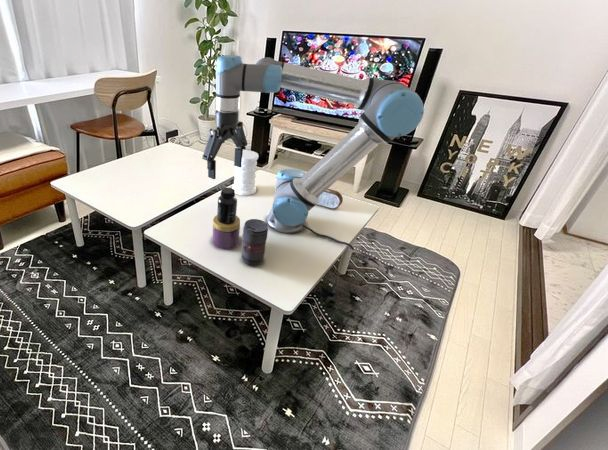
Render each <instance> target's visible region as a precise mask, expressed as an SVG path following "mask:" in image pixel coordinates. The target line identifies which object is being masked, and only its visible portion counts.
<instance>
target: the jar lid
mask: <svg viewBox="0 0 608 450" xmlns="http://www.w3.org/2000/svg"><path fill="white" fill-rule="evenodd" d="M213 226H214V227H215V228H216V229H217V230H219V231H223V232H231V231H235V230H237V229H238V228H239V226H240V227H241V218H240V217H239V216H238V215H236V220H235V222H234V223H232V224H222V223H220V222H219V221H218V220H217V214H216V215H214V217H213V219H212V227H213Z"/></svg>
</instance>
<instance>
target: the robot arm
mask: <svg viewBox="0 0 608 450" xmlns="http://www.w3.org/2000/svg"><path fill="white" fill-rule="evenodd" d="M281 89H285V90H289V91H293V92H298V93H302V94H306V95H311V96H315V97H319V98H323V99H328V100H331V101H337V102H341V103H345V104H350V105H353V107H354V109H356V110H360V111H363V112H362V113H361V114H360V115H359V117H358V124H357V125H355V127H354V128H353V129H351V131H349V132H348V133H347V134H346V135H345V136H344V137H343V138H342V139H340V141H339V142H338V143H337V144H336V145H335V146H333V148H331V149H330V150H329V151H328V152H327V153H326V154H325V155H324V156H323V157H322V158H321V159H319V161H318V162H316V163H315V165H313V166H312V167H311V168H310V169H309V170H308V171H304V170H300V169H295V168H284V169H283V168H282V169H281V170H279V171H278V172H277V175H276V181H275V182H276V183H275V189H274V196H273V203H272V206H271V209H270V210H269V212H268V213H267V216H266V218H267V219H266V224H267V225H268V228H270V229H271V230H273V231H275V232H278V233H282V234H297V233H300V232H301V231H303V230H304V229H306V230H307V231H310V232H311V233H312V234H314V235H316V236H319V237H322V238H326V239H329V240H331V241H333V242H335V243H338V244H341V245H346V246H348V247H349V248H350V249H351V250H352V251H355V248H354V246H353V245H352V244H351V243H348V242H345V241H342V240H338V239H336V238H334V237H333V236H332V237H331V236H329V235H326V234H322V233H318V232H317V231H315V230H313V229H312V228H310V227H309V226H307V225H306V220H307V218H308V216H309V211H311V210H312V209H313V208H314V207H316V206H317V205H316V204H318V202H319V196H320V195H321V194H322V193H323V192H324V191H326V190H327V189H330V188H331V186H333V185H334V184H335V183H336V182H337V181H338V180H340V179H341V178H342V177H343V176H345V174H347V173H348V172H349V171H350V170H351V169H353V168H354V167H355V166H356V165H357V164H359V162H360V161H362V160H363V159H364V158H366V157H367V156H368V155H369V154H370V153H371V152H372V151H373V150H374V149H376V148H377V147H378V146H379V145H388V144H389V143H390V142H392V141H393V140H394V139H396V138H397V137H404V136H406V135H408V134H410V133H411V132H413V131H414V130H415V129H416V128H417V127H418V126H419V125H420V123H421V121H422V120H423V117H424V112H425V107H424V102H423V100H422V99H421V97H420V95H419V94H418V92H415V91H414V90H413V89H411V88H409V87H408V86H407V85H406V84H404V83H403V82H400V81H394V80H387V79H381V78H374V77H370V76H366V77H365V78H363V79H360V78H357V77H352V76H348V75H343V74H339V73H335V72H329V71H324V70H320V69H315V68H311V67H306V66H302V65H297V64H293V63H290V62H283V61H279V60H275V59H274V58H272V57H268V56H266V57H262V58H261V59H258V61H257V62H256V63H243V59H242V56H240V55H234V54H222V55H220V56H218V57H217V59H216V66H215V109H216V110H215V113H214V114H215V115H214V122H215V123H216V128H210V129H209V132H208V138H207V141H206V145H205V147H204V151H203V154H202V160H204V161H206V168H207V178H209V179H212V180H216V179H217V178H216V176H217V175H216V174H217V173H216V170H217V169H216V168H217V160H215V159H216V157H217V155H218V153H219V151H220V149H221V147H222V145H223V144H224V143H225V141H228V140H229V139H230V140H232V143H233V144H234V145H235V148H234V158H233V159H234V161H233V166H234V167H235V166H237V167H239V168H240V167H241V163H242V155H243V150H246V148H247V146H248V141H247V138H246V134H245V130H244V123H243V121H239V120H240V111H239V110H240V106H241V105H240V104H241V92H251V93H252V92H254V93H265V94H269V93H272V94H273V93H274V94H275V93H278V92H280V90H281Z"/></svg>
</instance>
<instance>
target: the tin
mask: <svg viewBox="0 0 608 450" xmlns="http://www.w3.org/2000/svg"><path fill="white" fill-rule="evenodd" d="M343 200H344V198H343V195H342V194H341V193H340V191H338V190H335V189H332V188H328V189H327V190H326V191H324V192H323V193H322V194H321V195H320V196H319V202H318V204H316V205H315V206H320V207H322V208H326V209H329V210H336V209H338V208H339V207H340V206H341V205H342V204H343Z"/></svg>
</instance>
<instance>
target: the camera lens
mask: <svg viewBox="0 0 608 450" xmlns="http://www.w3.org/2000/svg"><path fill="white" fill-rule="evenodd" d="M242 229H243V230H242V240H241V257H242V262H243V263H244V264H245V265H246V266H250V267H258V266H259V265H261V264H262V262H263V260H264V257H265V252H266V244H267V239H268V232H269V226H268V224H267V222H265V221H264V220H261V219H257V218H250V219H247V220H246V221H245V222H244V225H243V228H242Z"/></svg>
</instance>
